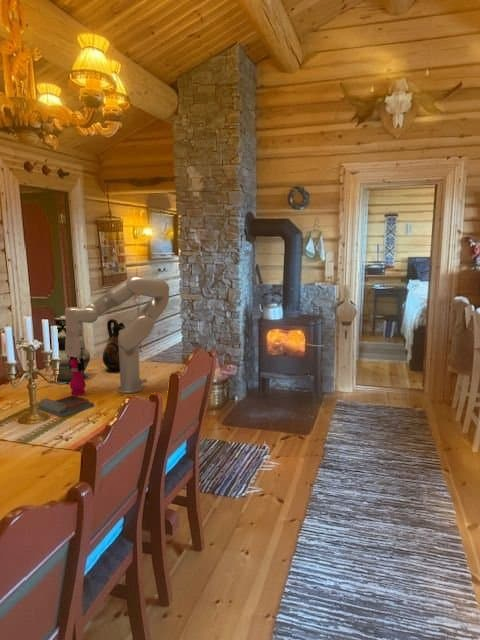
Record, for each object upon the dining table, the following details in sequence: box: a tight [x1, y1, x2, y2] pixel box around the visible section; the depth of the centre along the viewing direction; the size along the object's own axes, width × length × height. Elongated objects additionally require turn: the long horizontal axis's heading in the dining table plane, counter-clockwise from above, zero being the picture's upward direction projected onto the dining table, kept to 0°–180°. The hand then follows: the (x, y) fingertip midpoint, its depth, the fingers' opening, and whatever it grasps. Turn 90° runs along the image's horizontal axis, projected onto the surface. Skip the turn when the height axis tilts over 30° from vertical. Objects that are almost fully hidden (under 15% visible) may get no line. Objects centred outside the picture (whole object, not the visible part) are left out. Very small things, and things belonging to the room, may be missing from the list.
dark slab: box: [37, 394, 95, 418], centre depth 201 cm, size 16×18×4 cm
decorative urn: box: [48, 314, 92, 385], centre depth 244 cm, size 21×21×35 cm
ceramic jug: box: [102, 318, 126, 373], centre depth 262 cm, size 17×15×30 cm
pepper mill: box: [69, 357, 87, 397], centre depth 219 cm, size 7×7×20 cm
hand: (76, 369), depth 219 cm, fingers closed on pepper mill, 6 cm apart
